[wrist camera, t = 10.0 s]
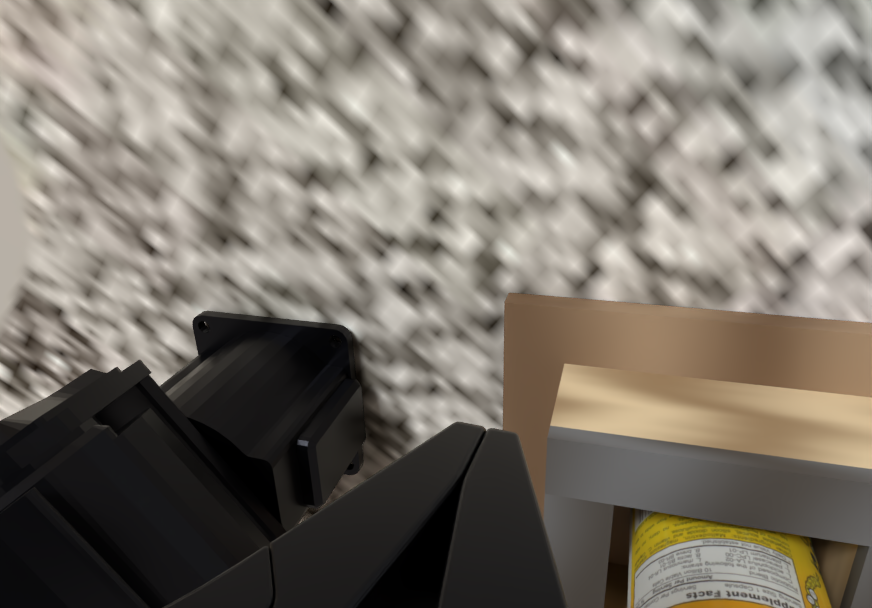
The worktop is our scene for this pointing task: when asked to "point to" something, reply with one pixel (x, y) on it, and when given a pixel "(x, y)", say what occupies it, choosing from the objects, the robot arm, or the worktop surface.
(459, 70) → the worktop surface
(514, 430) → the socket
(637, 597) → the supplement bottle
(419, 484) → the robot arm
